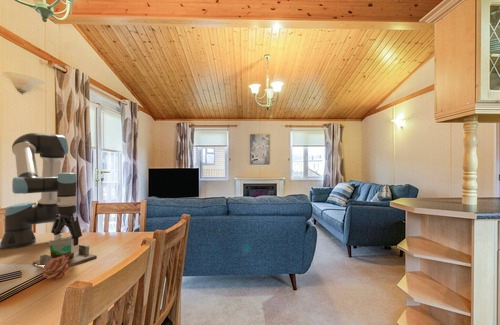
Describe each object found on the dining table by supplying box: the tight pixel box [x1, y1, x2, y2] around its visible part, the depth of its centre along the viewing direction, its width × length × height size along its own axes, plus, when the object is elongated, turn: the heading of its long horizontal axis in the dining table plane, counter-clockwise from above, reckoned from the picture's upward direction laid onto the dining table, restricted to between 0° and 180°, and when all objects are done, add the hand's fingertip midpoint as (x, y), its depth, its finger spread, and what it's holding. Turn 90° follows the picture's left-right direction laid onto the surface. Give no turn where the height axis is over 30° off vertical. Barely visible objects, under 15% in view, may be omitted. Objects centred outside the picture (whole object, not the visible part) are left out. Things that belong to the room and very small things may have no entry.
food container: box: [48, 235, 75, 259], centre depth 118 cm, size 12×6×10 cm, turn 166°
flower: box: [42, 255, 70, 281], centre depth 101 cm, size 10×9×8 cm
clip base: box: [32, 243, 98, 268], centre depth 118 cm, size 18×18×5 cm
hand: (65, 250), depth 118 cm, fingers open, 13 cm apart
